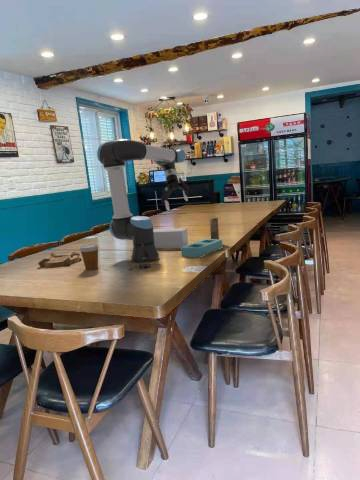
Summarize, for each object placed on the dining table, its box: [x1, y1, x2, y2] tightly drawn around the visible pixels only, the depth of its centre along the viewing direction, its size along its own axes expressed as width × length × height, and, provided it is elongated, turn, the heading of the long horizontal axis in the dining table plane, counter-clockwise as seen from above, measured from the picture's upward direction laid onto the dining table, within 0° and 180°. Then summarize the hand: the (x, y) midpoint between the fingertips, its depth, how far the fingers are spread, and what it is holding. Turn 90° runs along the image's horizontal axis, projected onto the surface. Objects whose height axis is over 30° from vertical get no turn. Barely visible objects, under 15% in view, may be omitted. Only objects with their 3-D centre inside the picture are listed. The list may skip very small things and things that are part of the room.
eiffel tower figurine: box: [128, 243, 162, 271], centre depth 173 cm, size 15×10×13 cm
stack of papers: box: [153, 227, 189, 249], centre depth 222 cm, size 32×11×11 cm, turn 72°
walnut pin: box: [209, 217, 220, 240], centre depth 216 cm, size 5×5×16 cm
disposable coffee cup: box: [79, 243, 99, 271], centre depth 180 cm, size 10×10×12 cm
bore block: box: [180, 238, 223, 258], centre depth 196 cm, size 24×12×5 cm, turn 143°
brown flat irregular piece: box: [37, 251, 82, 269], centre depth 201 cm, size 24×24×5 cm
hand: (177, 205), depth 211 cm, fingers open, 13 cm apart
